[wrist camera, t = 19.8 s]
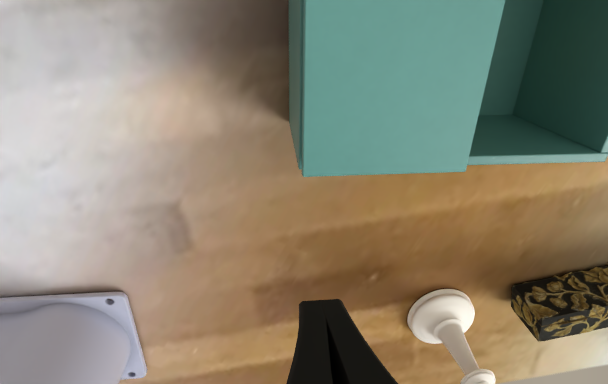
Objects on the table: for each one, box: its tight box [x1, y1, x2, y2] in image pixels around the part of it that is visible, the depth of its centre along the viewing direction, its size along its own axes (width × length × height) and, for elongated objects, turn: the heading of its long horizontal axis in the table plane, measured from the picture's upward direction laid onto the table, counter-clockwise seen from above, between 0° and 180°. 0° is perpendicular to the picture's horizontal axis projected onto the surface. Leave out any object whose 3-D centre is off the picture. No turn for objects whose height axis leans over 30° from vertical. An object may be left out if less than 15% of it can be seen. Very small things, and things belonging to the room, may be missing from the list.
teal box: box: [289, 0, 608, 169], centre depth 15 cm, size 13×10×6 cm
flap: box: [302, 0, 505, 177], centre depth 11 cm, size 6×10×1 cm, turn 179°
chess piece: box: [407, 289, 495, 384], centre depth 23 cm, size 5×5×10 cm
